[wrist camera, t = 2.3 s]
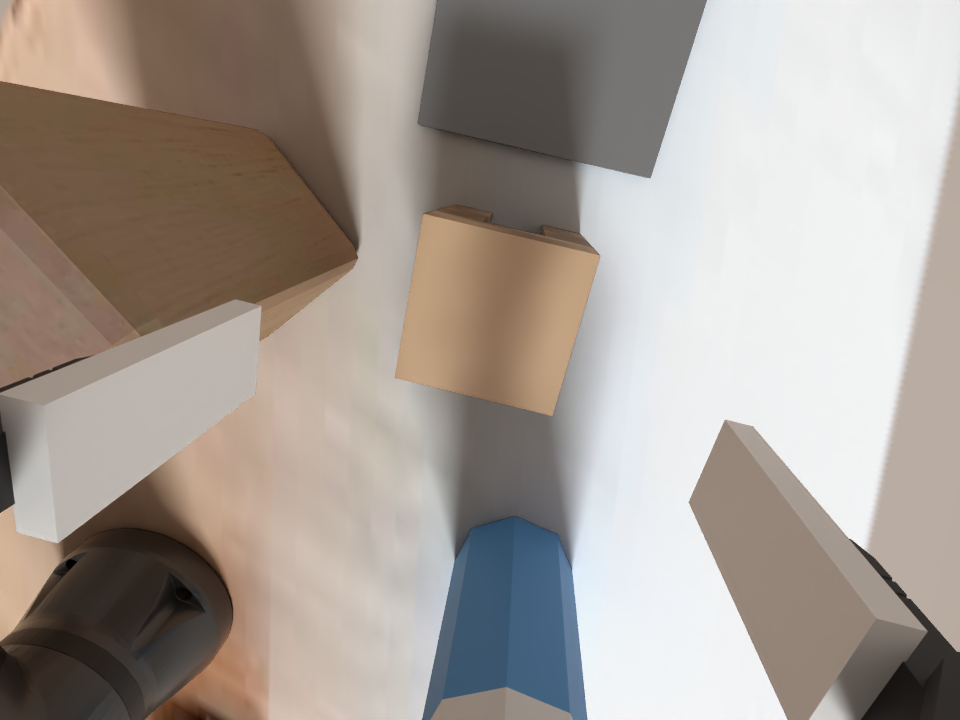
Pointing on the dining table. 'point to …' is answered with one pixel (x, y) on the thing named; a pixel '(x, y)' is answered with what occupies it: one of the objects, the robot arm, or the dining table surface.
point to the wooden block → (144, 227)
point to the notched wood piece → (494, 308)
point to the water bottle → (508, 630)
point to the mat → (561, 75)
